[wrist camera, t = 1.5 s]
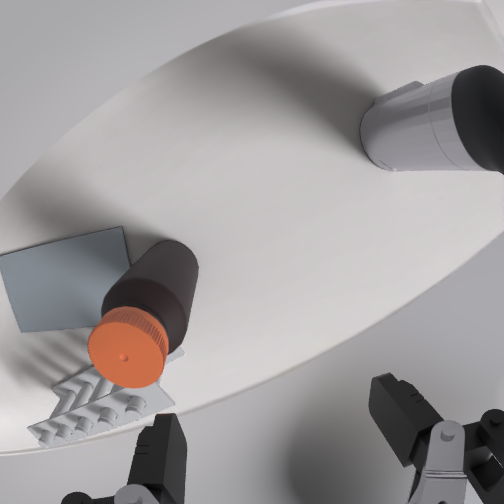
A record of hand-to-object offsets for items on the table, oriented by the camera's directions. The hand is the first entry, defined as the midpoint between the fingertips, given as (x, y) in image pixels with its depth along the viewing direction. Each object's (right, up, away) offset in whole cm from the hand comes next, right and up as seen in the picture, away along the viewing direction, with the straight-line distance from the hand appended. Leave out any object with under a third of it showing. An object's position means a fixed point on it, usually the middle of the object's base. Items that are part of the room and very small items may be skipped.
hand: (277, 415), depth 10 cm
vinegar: (-11, +5, +25) cm, 27 cm away
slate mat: (-26, +2, +23) cm, 35 cm away
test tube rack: (-22, -11, +27) cm, 37 cm away
